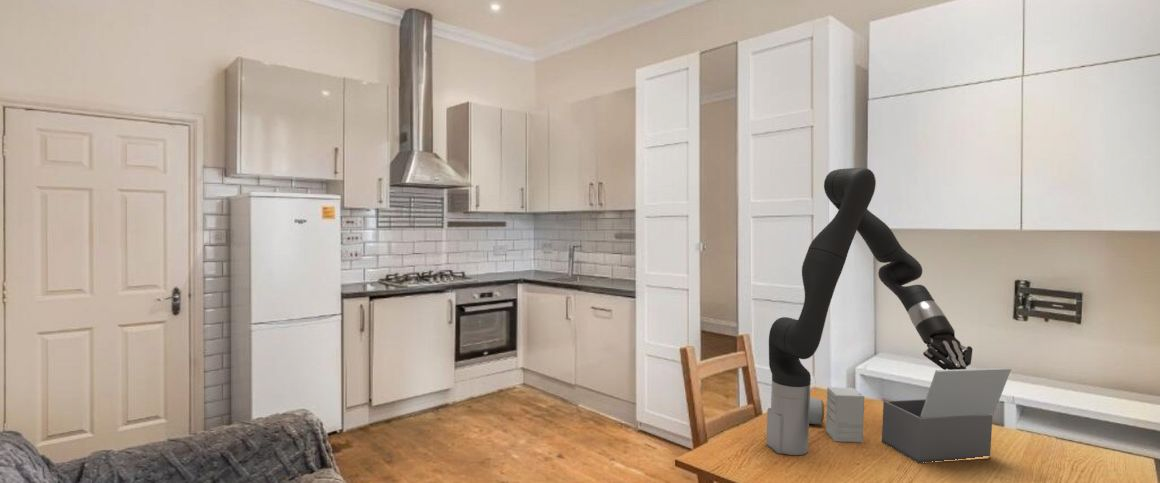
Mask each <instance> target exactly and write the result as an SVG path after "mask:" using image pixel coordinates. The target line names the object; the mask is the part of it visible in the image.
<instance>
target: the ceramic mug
mask: <svg viewBox="0 0 1160 483" xmlns="http://www.w3.org/2000/svg"><path fill="white" fill-rule="evenodd" d="M824 419H825V402H824V401H823V400H822V399H820V398H817V397H811V396H810V409H809V425H821V424H823V423H824Z"/></svg>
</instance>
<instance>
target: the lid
mask: <svg viewBox="0 0 1160 483" xmlns="http://www.w3.org/2000/svg"><path fill="white" fill-rule="evenodd" d="M1011 371H1012V369H1011V368H1010V367H995V368H994V367H993V368H966V369H958V370H948V369H946V370H944V369H935V372H934V374H933V378H932V380H931V383H930V386H929V389H928V392H927V395H926V398H925V399H926V401H925V403H924V406H923V409H922V412H921V415H920V416H921V417H922V418H927V417H947V416H968V415H988V414H990V415H994V414H995V411H996V409H997V407H998V404H999V401H1000V399H1001V396H1002V394H1003V391H1004V389H1005V386H1006V384H1007V381H1008V379H1009V376H1010V374H1011Z"/></svg>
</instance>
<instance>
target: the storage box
mask: <svg viewBox="0 0 1160 483" xmlns="http://www.w3.org/2000/svg"><path fill="white" fill-rule="evenodd" d="M925 401H926V398H923V399H903V400H902V399H901V400H884V401H883V406H882V408H883V409H882V428H881V443H882V442H883V443H882V444H884V443H885V444H884V445H886V444H887V445H886V446H888V447H889V446H890V448H891V447H892V448H891V449H893V450H894V449H895V450H894V451H896V450H897V451H896V452H898V451H899V452H898V453H900V454H901V453H902V455H903V454H904V455H903V456H905V457H907V458H908V457H909V458H908V459H910V458H911V459H910V460H912V461H913V460H914V462H915V461H916V462H915V463H917V462H918V463H917V464H919V463H921V464H926V463H925V462H932V461H933V462H935V461H944V460H955V459H957V460H958V459H966V458H975V457H983V456H990V457H991V449H992V448H991V447H992V429H993V414H988V415H968V416H947V417H927V418H922V417H921V416H920V415H921V412H922V409H923V406H924V403H925ZM923 462H924V463H923Z"/></svg>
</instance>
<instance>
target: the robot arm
mask: <svg viewBox="0 0 1160 483" xmlns="http://www.w3.org/2000/svg"><path fill="white" fill-rule="evenodd" d="M876 180H877V179H876V177H875V173H874V172H873V171H872V170H871V169H869V168H867V167H850V168H837V169H834V170H832V171H830V172H829V173H828V174H827V175H826V176H825V179H824V183H823V190H824V193H825V195H826V197H827V198H828V201H830V202H831V203H832V205H833V206H834V207H835V208H836V209H837V210H838V211H837V213H836V214H835V216H834V217H833V218H832V220H831V221H830V222H829V223H828V224H827V225H826V226H825V227H824V228H822V230H821V231H820V232H819V233H818V234H817V235H816V236H815V237H814V238H813V240H811V242H810V244H809V246H808V249H807V252H806V254H805V257H804V259H803V262H802V266H801V277H802V284H803V290H804V301H803V306H802V309H801V312H800V314H799V317H798V319H797V318H792V317H787V316H785V317H784V316H783V317H779V318H776V320H775V321H774V322H773V323H772V324H771V327H770V330H769V334H768V335H769V336H768V365H769V370H770V372H771V394H770V395H771V396H770V397H771V398H770V407H769V408H767V411H766V412H767V413H766V414H767V415H766V440H765V441H766V442H765V444H766V445H767V446H768V447H770V449H772V450H773V451H774V452H775V453H777V454H783V455H790V456H801V455H802V456H803V455H806V454H807V453H808V451H809V433H810V432H809V430H810V428H809V427H810V424H809V409H810V397H811V384H812V383H811V382H812V380H811V379H812V378H811V377H812V376H811V373H810V372H809V370H808V369H807V368H806V367H805V366H804V365H803V363H802V362H801V360H807V359H810V358H811V357H812V356H814V354H815V353H816V351H817V350H818V348H819V346H820V343H821V339H822V336H823V332H824V327H825V324H826V319H827V315H828V312H829V307H830V305H831V302H832V299H833V295H834V292H835V289H836V286H837V284H838V282H839V279H840V277H841V274H842V272H843V269H844V266H845V263H846V260H847V257H848V254H849V251H850V248H851V245H852V243H853V241H854V239H855V235H856V233H858V234H859V235H860V236H861V237H862V239H863V240H864V242H865V243H866V245H867V247H868V248H869V251H870V252H871V254H872V255H873V257H874V258H875V260H876V261H878V262H879V263H881V264H884V263H885V264H884V265H882V266H880V268H879V269H878V273H877V274H878V278H879V281H881V282H882V283H883V285H884V286H885V287H886V288H887V289H888V290H890V291H891V292H892V293H893V294H894V295H895V296H896V297H897V299H899V301H900V302H901V304H902V305H903V307H904V309H905V310H906V313H907V314H908V316H909V318H910V321H911V323H912V325H913V326H914V328H915V330H916V332H917V334H918V335H919V336H920V338H921V340H922V341H923V343H924V344H925V345H926V347H927V349H926V350H924V351H923V353H922V354H923V356H924V357H925V358H927V359H928V360H929V361H931V362H932V363H933V364H935V365H936V366H938V367H939V368H941V370H958V369H967V367H968V366H970V365H971V363H972V358H973V347H972V346H969V345H968V346H967V347H966V346H964V345H962V343H961V341H960V340H958V339H957V338H956V337H955V329H954V327H953V326H952V324H951V323H950V321H949V320H948V318H947V316H946V315H945V313H944V312H943V310H942V308H940V306H939V305H938V304H937V303H936V302H935V299H934V298H933V296H932V294H931V292H929V290H928V288H927V287H926V286H924V285H922V284H912V285H907V284H910V283H912V282H915V281H916V280H918V279H920V278H921V276H923V275H922V274H923V268H922V265H921V263H920V262H919V261H918V260H917V259H916V258H915V257H914V256H912V255H911V254H910V253H908V252H907V251H906V250H905V249H904V248H903V247H902V245H901V244H900V242H899V240H898V239H897V237H896V235H895V234H894V233H893V231H892V229H891V228H890V227H889V225H887V224H886V223H885V222H884V221H883V220H882V219H880V218H879V217H878V216H876V215H875V214H874V213H873V212H871V211H870V210H869V209H868V208H869V205H870V204H871V201H872V199H873V197H874V194H875V190H876V186H877V183H876ZM905 285H907V286H905Z"/></svg>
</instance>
